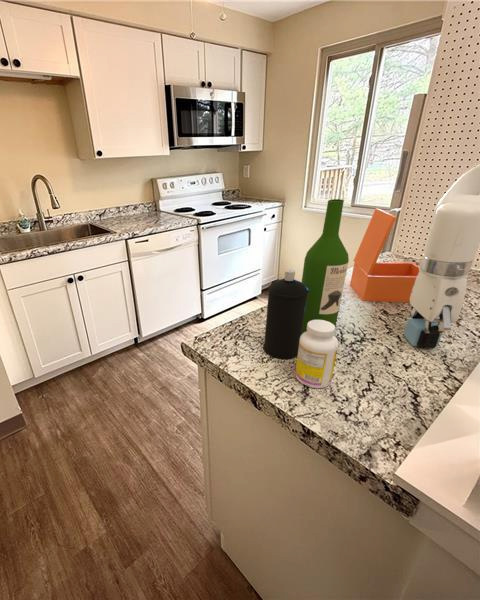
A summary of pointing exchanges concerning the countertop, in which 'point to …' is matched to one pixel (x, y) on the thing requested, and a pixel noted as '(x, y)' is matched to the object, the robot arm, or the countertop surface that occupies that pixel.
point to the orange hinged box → (385, 281)
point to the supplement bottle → (317, 354)
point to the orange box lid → (374, 240)
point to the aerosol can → (285, 316)
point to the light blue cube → (416, 330)
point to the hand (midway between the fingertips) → (420, 339)
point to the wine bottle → (325, 270)
